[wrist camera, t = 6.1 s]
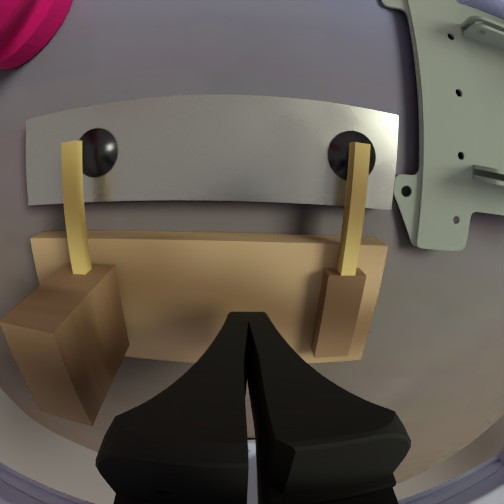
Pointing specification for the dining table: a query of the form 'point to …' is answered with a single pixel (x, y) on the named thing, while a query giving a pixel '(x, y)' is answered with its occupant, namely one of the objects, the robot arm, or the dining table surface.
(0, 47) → the pepper mill
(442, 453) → the dining table surface
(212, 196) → the bolt strip
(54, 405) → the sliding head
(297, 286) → the trammel beam
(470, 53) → the metal bracket
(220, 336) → the robot arm
